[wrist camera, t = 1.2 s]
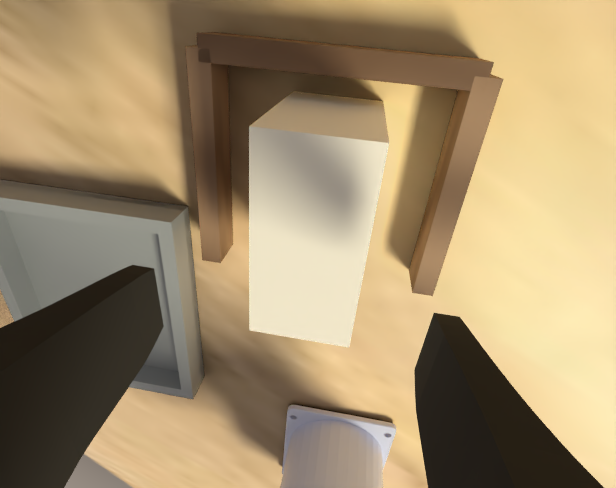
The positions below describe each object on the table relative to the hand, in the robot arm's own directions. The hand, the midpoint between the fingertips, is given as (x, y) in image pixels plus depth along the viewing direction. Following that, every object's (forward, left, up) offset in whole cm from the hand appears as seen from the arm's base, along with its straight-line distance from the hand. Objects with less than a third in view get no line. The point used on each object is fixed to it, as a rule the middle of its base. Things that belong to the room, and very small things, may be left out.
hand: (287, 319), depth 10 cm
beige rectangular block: (0, 0, -10) cm, 10 cm away
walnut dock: (0, 0, -10) cm, 10 cm away
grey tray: (-10, +13, -10) cm, 19 cm away
